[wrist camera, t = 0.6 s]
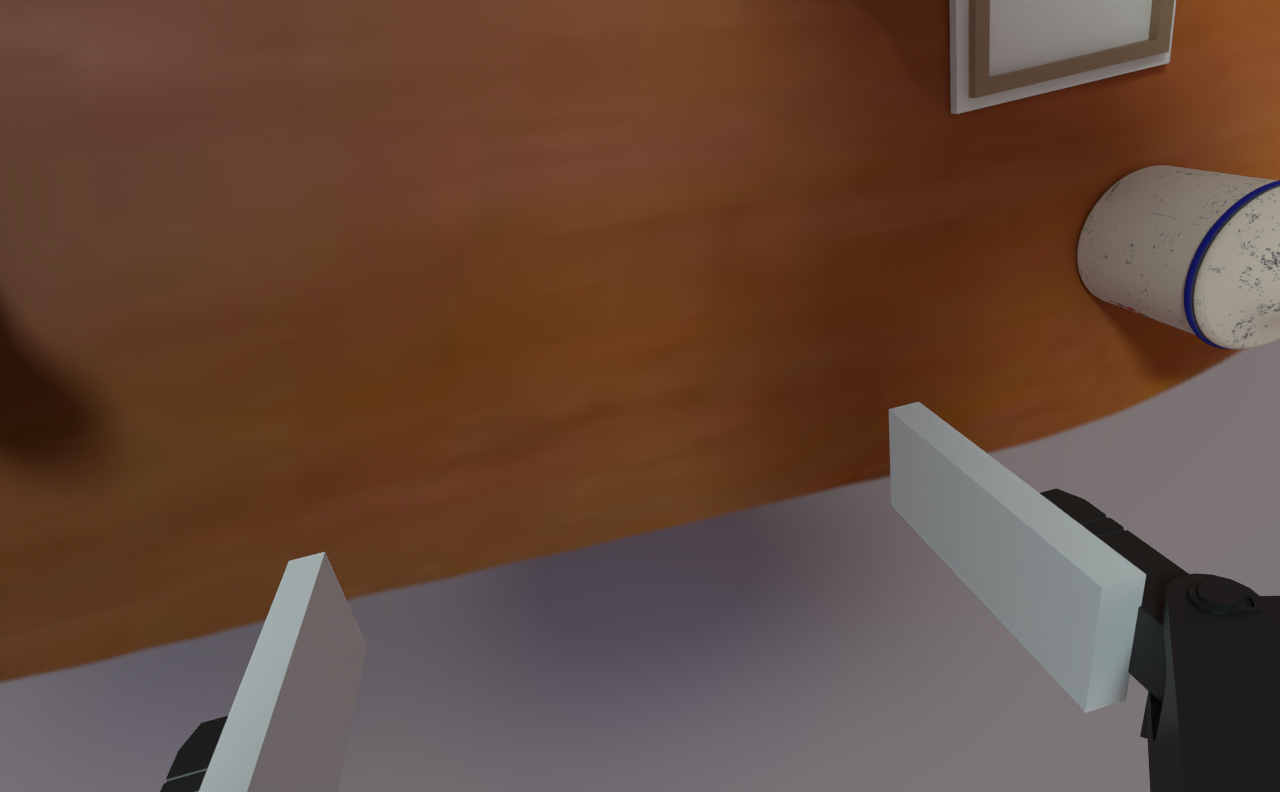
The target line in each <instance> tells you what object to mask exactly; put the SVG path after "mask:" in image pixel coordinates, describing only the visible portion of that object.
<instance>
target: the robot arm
mask: <svg viewBox="0 0 1280 792" xmlns="http://www.w3.org/2000/svg"><path fill="white" fill-rule="evenodd" d="M889 441H890V480H891V506H892V507H893V508H894V509H895V510H896V511H897V512H898V513H899V514H900V515H901V517H902V518H903V519H904V520H905V521H906V522H907V523H908V524H909V525H910V526H911V527H912V528H913V529H914V530H915V531H916V533H917V534H918V535H919V536H920V537H921V538H922V539H923V540H924V541H925V542H926V543H927V544H928V545H929V546H930V547H931V549H932V550H933V551H934V552H935V553H936V554H937V555H938V556H939V557H940V558H941V559H942V560H943V561H944V562H945V563H946V565H947V566H949V568H950V569H951V570H952V571H953V572H954V573H955V574H956V575H957V576H958V577H959V578H960V579H961V580H962V581H963V583H964V584H965V585H966V586H967V587H968V588H969V589H970V590H971V591H972V592H973V593H974V594H975V595H976V597H978V599H980V601H981V602H982V603H983V604H984V605H985V606H986V607H987V608H988V609H989V610H990V611H991V612H992V614H993V615H994V616H995V617H996V618H997V619H998V620H999V621H1000V622H1001V623H1002V624H1003V625H1004V626H1005V627H1006V628H1007V629H1008V631H1009V632H1010V633H1012V635H1013V636H1014V637H1015V638H1016V639H1017V640H1018V641H1019V642H1020V643H1021V644H1022V646H1023V647H1024V648H1025V649H1026V650H1027V651H1028V652H1029V653H1030V654H1031V655H1032V656H1033V657H1034V658H1035V659H1036V660H1037V662H1038V663H1039V664H1040V665H1041V666H1042V667H1043V668H1044V669H1045V670H1046V671H1047V672H1048V673H1049V674H1050V675H1051V676H1052V678H1054V680H1055V681H1056V682H1057V683H1058V684H1059V685H1060V686H1061V687H1062V688H1063V689H1064V690H1065V691H1066V692H1067V693H1068V694H1069V696H1070V697H1071V698H1073V700H1074V701H1075V702H1076V703H1077V704H1078V705H1079V706H1080V707H1081V708H1082V709H1083V711H1084V712H1089V711H1092V710H1095V709H1098V708H1102V707H1105V706H1108V705H1111V704H1115V703H1118V702H1121V701H1125V700H1126V695H1127V689H1128V683H1129V677H1130V674H1131V675H1132V676H1133V677H1134V678H1135V679H1136V680H1137V681H1138V682H1139V683H1140V684H1142V685H1143V686H1144V687H1145V688H1146V689H1147V690H1148V697H1147V702H1146V708H1145V713H1144V719H1143V725H1142V730H1141V737H1144V738H1147V739H1148V755H1149V773H1150V792H1280V596H1259V595H1258V594H1256V593H1255V592H1254V591H1253V590H1251V589H1250V588H1248V587H1246V586H1244V585H1242V584H1240V583H1238V582H1236V581H1233V580H1231V579H1227V578H1223V577H1219V576H1215V575H1209V574H1188V573H1187V572H1185V571H1184V570H1183V569H1181V568H1180V567H1178V566H1177V565H1176V564H1174V563H1172V562H1171V561H1170V560H1169V559H1167V558H1165V557H1164V556H1163V555H1162V554H1160V553H1159V552H1157V551H1156V550H1155V549H1153V548H1152V547H1150V546H1149V545H1148V544H1146V543H1145V542H1143V541H1142V540H1141V539H1139V538H1138V537H1136V536H1135V535H1134V534H1132V533H1131V532H1129V531H1128V530H1127V531H1125V530H1124V529H1123V527H1122V526H1121V525H1119V524H1118V523H1117V522H1115V521H1114V520H1113V519H1111V518H1107V517H1106V515H1105V514H1104V513H1103V512H1101V511H1100V510H1099V509H1097V508H1096V507H1094V506H1093V505H1092V504H1090V503H1089V502H1087V501H1086V500H1084V499H1082V498H1079V497H1077V496H1074V495H1072V494H1069V493H1067V492H1064V491H1061V490H1059V489H1053V490H1049V491H1045V492H1042V493H1038V492H1037V491H1036V490H1034V489H1033V488H1032V487H1030V486H1029V485H1028V484H1026V483H1025V482H1024V481H1023V480H1021V479H1020V478H1019V477H1017V476H1016V475H1015V474H1013V473H1012V472H1011V471H1009V470H1008V469H1007V468H1006V467H1004V466H1003V465H1002V464H1000V463H999V462H998V461H996V460H995V459H993V458H992V457H991V456H990V455H988V454H987V453H986V452H984V451H983V450H982V449H981V448H979V447H978V446H977V445H975V444H974V443H973V442H971V441H970V440H969V439H967V438H966V437H965V436H963V435H962V434H961V433H959V432H958V431H957V430H956V429H954V428H953V427H952V426H950V425H949V424H948V423H946V422H945V421H944V420H942V419H941V418H940V417H938V416H937V415H936V414H934V413H933V412H932V411H931V410H929V409H928V408H927V407H925V406H924V405H923V404H921V403H920V402H915V403H911V404H907V405H903V406H900V407H896V408H892V409H889ZM366 647H367V646H366V643H365V641H364V639H363V637H362V634H361V632H360V630H359V628H358V625H357V623H356V621H355V618H354V617H353V614H352V612H351V610H350V607H349V605H348V603H347V600H346V598H345V596H344V594H343V591H342V589H341V587H340V585H339V582H338V580H337V578H336V576H335V573H334V571H333V569H332V567H331V564H330V562H329V560H328V558H327V555H326V553H325V552H323V553H319V554H315V555H311V556H307V557H303V558H299V559H295V560H291V561H289V563H288V565H287V568H286V570H285V573H284V575H283V578H282V580H281V583H280V585H279V588H278V591H277V593H276V596H275V598H274V601H273V603H272V606H271V608H270V611H269V614H268V616H267V619H266V621H265V624H264V627H263V629H262V631H261V634H260V637H259V639H258V642H257V644H256V647H255V650H254V652H253V654H252V657H251V660H250V662H249V665H248V667H247V670H246V672H245V675H244V678H243V680H242V682H241V685H240V688H239V690H238V693H237V695H236V698H235V700H234V703H233V706H232V708H231V711H230V713H229V716H226V717H222V718H218V719H215V720H211V721H207V722H204V723H201V724H200V725H199V727H198V728H197V729H196V730H195V731H194V733H193V734H192V735H191V736H190V738H189V739H188V740H187V741H186V742H185V743H184V745H183V746H182V747H181V748H180V750H179V751H178V753H177V756H176V758H175V760H174V762H173V764H172V767H171V769H170V771H169V773H168V776H167V783H164V785H163V787H162V789H161V791H160V792H338V787H339V782H340V777H341V772H342V767H343V762H344V757H345V752H346V747H347V742H348V737H349V732H350V727H351V722H352V717H353V712H354V706H355V702H356V697H357V692H358V687H359V682H360V677H361V672H362V667H363V662H364V657H365V652H366Z"/></svg>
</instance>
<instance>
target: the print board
mask: <svg viewBox="0 0 1280 792" xmlns="http://www.w3.org/2000/svg"><path fill="white" fill-rule="evenodd" d="M949 7H950V100H951V114H959V113H963V112H968V111H972V110H976V109H980V108H984V107H988V106H993V105H997V104H1001V103H1005V102H1009V101H1013V100H1017V99H1022V98H1026V97H1030V96H1034V95H1038V94H1042V93H1046V92H1051V91H1055V90H1059V89H1063V88H1067V87H1071V86H1075V85H1080V84H1084V83H1088V82H1092V81H1096V80H1100V79H1105V78H1109V77H1113V76H1117V75H1121V74H1125V73H1129V72H1134V71H1138V70H1142V69H1146V68H1150V67H1154V66H1158V65H1163V64H1167V63H1169V62H1170V53H1171V44H1172V35H1173V26H1174V17H1175V7H1176V0H949Z"/></svg>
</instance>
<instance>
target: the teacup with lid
mask: <svg viewBox="0 0 1280 792" xmlns="http://www.w3.org/2000/svg"><path fill="white" fill-rule="evenodd" d="M1077 263H1078V269H1079V274H1080V276H1081V279H1082V281H1083V283H1084V284H1085V286H1086V287H1087V289H1088V290H1089V291H1090V292H1091V293H1092V294H1093V295H1094V296H1096V297H1097V298H1099V299H1101V300H1103V301H1106V302H1108V303H1111V304H1114V305H1116V306H1119V307H1122V308H1124V309H1127V310H1130V311H1133V312H1135V313H1138V314H1141V315H1143V316H1146V317H1149V318H1151V319H1154V320H1157V321H1160V322H1162V323H1165V324H1168V325H1170V326H1173V327H1176V328H1179V329H1181V330H1184V331H1187V332H1189V333H1192V334H1195V335H1196V336H1198V337H1199V338H1200V339H1201V340H1202V341H1204V342H1205V343H1207V344H1209V345H1211V346H1214V347H1217V348H1222V349H1249V348H1255V347H1259V346H1263V345H1266V344H1269V343H1271V342H1273V341H1276V340H1278V339H1280V180H1279V181H1276V180H1269V179H1262V178H1255V177H1247V176H1240V175H1233V174H1226V173H1219V172H1211V171H1204V170H1197V169H1190V168H1183V167H1175V166H1168V165H1157V166H1150V167H1146V168H1143V169H1140V170H1137V171H1135V172H1133V173H1130V174H1129V175H1127V176H1125V177H1124V178H1122V179H1121V180H1119V181H1118V182H1117V183H1115V184H1114V185H1113V186H1112V187H1111V188H1110V189H1108V190H1107V191H1106V192H1105V193H1104V195H1103V196H1102V197H1101V198H1100V199H1099V200H1098V202H1097V203H1096V204H1095V206H1094V207H1093V209H1092V210H1091V212H1090V214H1089V215H1088V217H1087V219H1086V221H1085V224H1084V226H1083V228H1082V231H1081V234H1080V238H1079V243H1078V250H1077Z"/></svg>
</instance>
